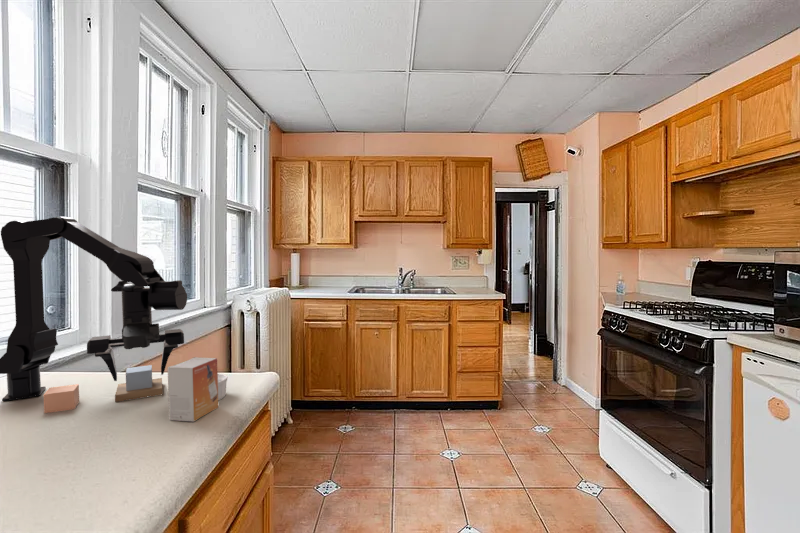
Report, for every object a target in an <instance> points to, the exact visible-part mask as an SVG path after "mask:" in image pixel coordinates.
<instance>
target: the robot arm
mask: <svg viewBox="0 0 800 533" xmlns="http://www.w3.org/2000/svg"><path fill="white" fill-rule="evenodd" d="M0 238H1V241H2V246H3V250H4V251H5V253H6V254H7V255H8V256H9V257H10V259H11V261H12V263H13V264H12V266H13V270H12V271H13V287H14V288H13V289H14V290H13V291H14V310H15V311H14V312H15V324H14V325H15V326H14V328H13V329H12V331H11V333H10V335H9V336H8V338H7V344H6V352H5V353H4V354H3V355H2V356H1V357H0V375H5V374H6V382H7V383H6V384H7V394H5V395H4V397H2V398H1V401H2V402H5V401H6V402H7V401H13V400H22V399H27V398H35V397H39V396H41V395H42V394H43V393H44V392H45V390H46V386H42V384H41V366H43V365H46V364H49V361H50V359H51V356H52V354H54V352H55V351H56V346H58V345H59V343H58V341H57V335H58V331H57V328H55V327H54V328H50V327H49V326H48V324H47V323H46V322H45V308H44V307H45V304H44V303H45V302H44V301H45V300H44V285H43V284H44V280H43V260H44V257H45V256H46V254H47V253H48V251H49V249H50V243H51V241H53V240H59V239H61V238H63V239H64V240H67V241H69V242H70V243H72V244H73V245H75V246H77V247H78V248H80V249H81V250H83V251H85V252H87V253H89V255H91V256H94V258H95V257H96V259H98V260H100V261H102V262H103V263H104V264H105V265H106V266H107V268H108V270H109V271H110V272H111V273H112V274H113V275H114V276H115V277H117V278H118V279H119V281H118V282H117V283H116V285H115V286H113V287H112V288H111V290H110V291H111V292H112V293H113V292H116V293H117V292H119V293H120V292H121V308H122V312H121V313H122V314H121V315H122V329H121V337H120V338H119V337H118V338H112V337H111V335H99V336H91V338H90V339H89V340H88V341H87V343H86V353H87V355H91V354H92V355H93V354H94V357H95V358H98V357H100V358H101V359H102V361H104V363H105V364H106V366H107V368H108V370H109V372H110V374H111V377H112V379H113V381H114V382H117V381H118V373H117V365H116V359H115V353H114V348H118V347H123V348H124V349H125V350H132V349H137V348H138V349H139V348H142V349H145V348H148V347H150V345H151V344H155V343H157V344H158V343H163V344H162V345H163V346H162V354H161V365H160V371H161V373H160V375H161V376H163V375H164V373H165V370H166V367H167V364H168V360H169V357H170V355H171V353H172V351H173V350H174V349H178V348H179V345H183V344H185V334H184V331H183V330H182V329H181V328H178V329H177V328H176V329H165V330H164V333H162V334H160V324H159V323H153V318H152V313H153V312H152V309H153V310H155V311H181V310H184V309H185V307H186V306H187V302H188V293H187V291H186V288H185V286H184V285H183V281H182V280H171V281H169V280H168V281H166V280H165V279H164V278H163V277H162V276H161V274H160V273H159V272H158V270H157V269H156V268H155V266H154V264H155V263H154V261H153V260H152V259H151V258H150V257H147V256H145V255H143V254H141V253H137V252H135V251H132V250H128V249H125V248H123V247H119V246H118V245H116V244H115V243H113V242H111V241H110V240H108V239H107V238H105V237H103V236H101V235H99V234H98V233H96V232H95V231H93V230H92V229H90V228H88V227H86V226H85V225H83V224H81V223H80V222H78V221H77V220H76V219H75V218H73V217H68V216H59V215H58V216H54V217H49V218H43V219H37V220H36V219H35V220H29V221H28V220H27V221H23V220H11V221H9V222H7V223H6V224H4V226H1V229H0Z"/></svg>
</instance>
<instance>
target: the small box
mask: <svg viewBox="0 0 800 533" xmlns="http://www.w3.org/2000/svg"><path fill="white" fill-rule="evenodd" d="M218 371H219V370H218V358H217V357H216V358H215V357H196V356H195V357H192V358H190V359H188V360H185V361H183V362H179V363H177V364H173V365H170V366H167V387H168V389H167V390H168V391H167V392H168V419H169V421H180V422H196V421H197V420H198V419H200V418H202V417H204V416H205V415H207V414H209V413H211V412H213V411H215V410H217V409H219V400H218V374H219V373H218Z"/></svg>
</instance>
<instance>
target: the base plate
mask: <svg viewBox="0 0 800 533" xmlns="http://www.w3.org/2000/svg"><path fill="white" fill-rule="evenodd" d="M163 393H164V392H163V378H162V377H159V378H154V379H153V378H152V387H151V388H144V389H137V390H130V391H126V382H123V383H118V384H117V387H116V390H115V395H114V399H115V401H114V402H115V403H117V402H124V400H125V401H130V400H129V399H131V400H137V398H138V399H143V397H144V398H148V397H147V396H151V397H155V395H157V396H162V395H161V394H163Z"/></svg>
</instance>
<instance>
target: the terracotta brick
mask: <svg viewBox="0 0 800 533" xmlns="http://www.w3.org/2000/svg"><path fill="white" fill-rule="evenodd" d="M79 384H80V383H75V384H68V385H60V386H53V387H52V386H51V387H49V388H48V389H47V390H46V391H44V392H45V393H43V414H48V413H57V412H61V411H62V412H64V411H68V410H69V411H70V410H75V409H76V408H77V406H78V405H79V403H80V385H79Z"/></svg>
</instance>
